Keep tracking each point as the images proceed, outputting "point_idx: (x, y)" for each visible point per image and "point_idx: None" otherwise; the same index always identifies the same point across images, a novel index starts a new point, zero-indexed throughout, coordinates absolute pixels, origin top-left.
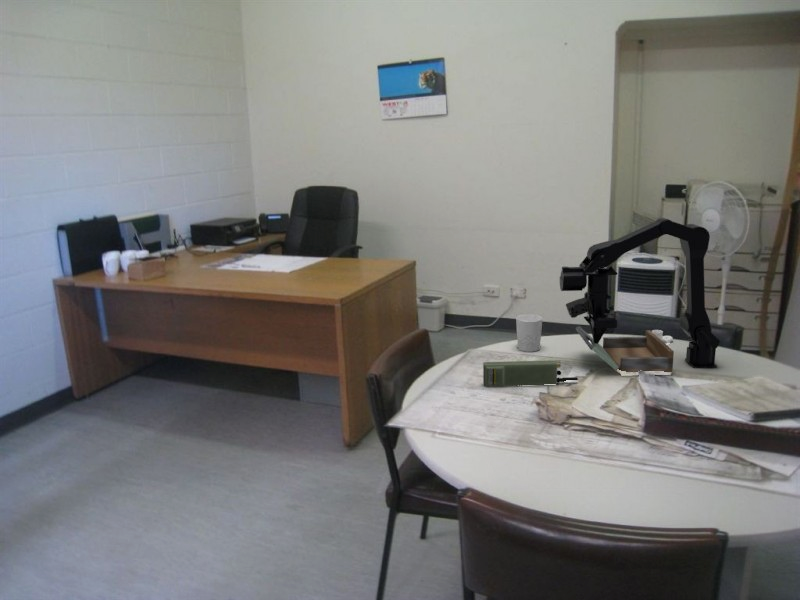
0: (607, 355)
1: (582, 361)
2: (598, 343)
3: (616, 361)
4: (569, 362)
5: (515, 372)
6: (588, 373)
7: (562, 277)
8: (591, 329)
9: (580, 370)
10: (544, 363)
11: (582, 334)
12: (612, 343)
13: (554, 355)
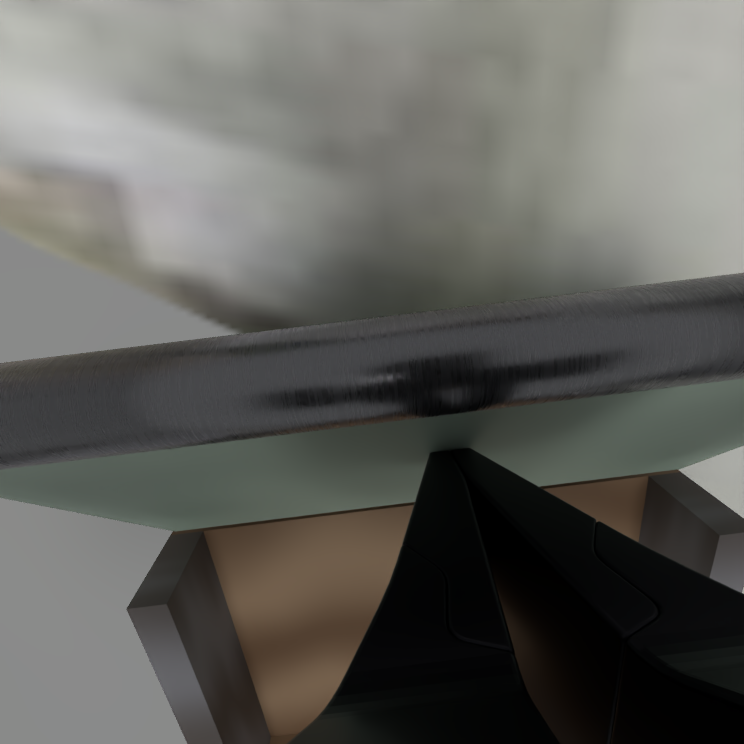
0: (300, 502)
1: (479, 281)
2: (691, 460)
3: (343, 524)
4: (457, 160)
5: None
6: (206, 298)
7: None
8: (572, 557)
9: (264, 240)
10: None
11: (556, 324)
12: (668, 557)
13: (664, 13)
